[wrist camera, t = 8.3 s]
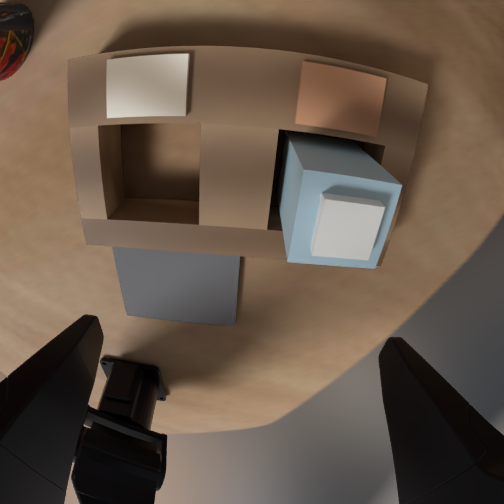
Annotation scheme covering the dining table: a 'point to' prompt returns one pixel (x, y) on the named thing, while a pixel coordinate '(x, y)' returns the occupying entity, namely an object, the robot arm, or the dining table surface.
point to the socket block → (225, 137)
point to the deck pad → (178, 285)
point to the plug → (334, 202)
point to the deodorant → (14, 37)
